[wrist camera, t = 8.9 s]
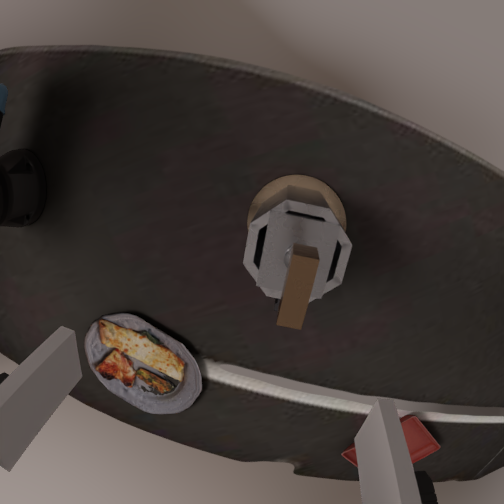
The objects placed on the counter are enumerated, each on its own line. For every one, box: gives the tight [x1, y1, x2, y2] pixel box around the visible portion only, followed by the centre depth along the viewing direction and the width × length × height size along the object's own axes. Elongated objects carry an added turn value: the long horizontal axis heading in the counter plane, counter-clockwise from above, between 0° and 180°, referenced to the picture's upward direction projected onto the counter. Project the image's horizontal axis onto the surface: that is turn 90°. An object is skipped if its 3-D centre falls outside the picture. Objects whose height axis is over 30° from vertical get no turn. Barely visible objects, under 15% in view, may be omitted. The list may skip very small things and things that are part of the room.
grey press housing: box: [243, 175, 352, 311], centre depth 39 cm, size 14×15×15 cm
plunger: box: [276, 210, 321, 330], centre depth 33 cm, size 7×7×19 cm
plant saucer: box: [342, 415, 440, 467], centre depth 57 cm, size 18×18×3 cm
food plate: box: [84, 312, 202, 414], centre depth 57 cm, size 25×23×4 cm
